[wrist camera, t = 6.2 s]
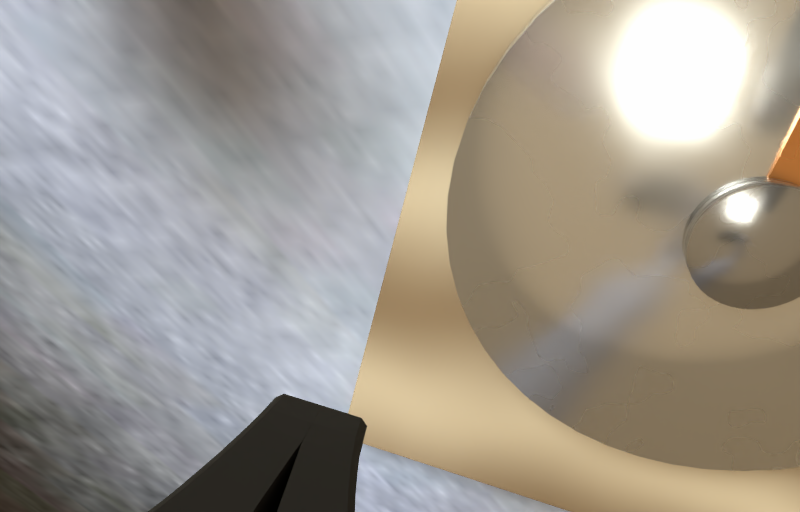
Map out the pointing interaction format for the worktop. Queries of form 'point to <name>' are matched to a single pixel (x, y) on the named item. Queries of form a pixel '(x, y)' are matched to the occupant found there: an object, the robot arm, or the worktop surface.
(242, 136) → the worktop surface
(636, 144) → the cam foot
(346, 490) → the robot arm
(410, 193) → the stand plate
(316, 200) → the worktop surface
